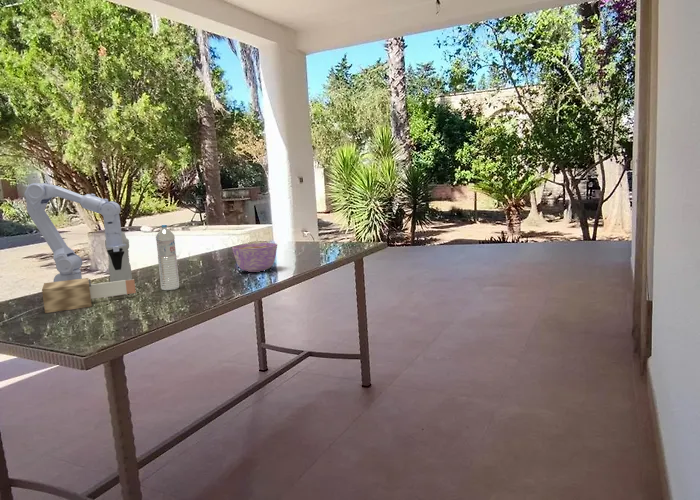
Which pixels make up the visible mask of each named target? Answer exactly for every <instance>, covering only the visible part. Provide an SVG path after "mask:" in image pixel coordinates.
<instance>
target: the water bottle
mask: <svg viewBox="0 0 700 500" xmlns="http://www.w3.org/2000/svg"><path fill="white" fill-rule="evenodd" d="M167 227H168V226H167V224H163V225H162V224H161V229H160V230H159V231H158V232H157V233H156V235H155V241H156V249H157V261H158V272H159V279H160V281H159V282H160V289H161V291H174V290H178V289H180V277H179V270H178V259H177V258H178V257H177V251H176V241H175V239H176V238H175V234H174V233H173V232H172V231H171V230H169V229H168V228H167Z"/></svg>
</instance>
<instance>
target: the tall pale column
mask: <svg viewBox="0 0 700 500" xmlns="http://www.w3.org/2000/svg"><path fill="white" fill-rule="evenodd" d="M121 233H122V242H123V244H126V246H123V247H120V248H122V249H123V250H122V251H124V254H123V258H122V267H121V270H115V269H114V267H113V264H112V260H111V257H110V255H109V254H108V252H107V250H111V249H112V248H106V239H105V240H104V247H105V249H106V253H107V257H108V273H109V274H108V275H109V282H114V281H122V280H130V279H133V275H132V273H133V272H132V267H131V263H130V256H129V255H130V254H129V252H130V250H129V248H130V241H129V240H130V239H128V238H127V236H126V233H125V232H123V231H121Z"/></svg>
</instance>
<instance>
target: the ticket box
mask: <svg viewBox="0 0 700 500" xmlns="http://www.w3.org/2000/svg"><path fill="white" fill-rule="evenodd" d="M91 284H92V282H91V279H89V277H86V278H85V277H84V278H82V279H75V280H67V281H58V282H53V281H51V282H44V283H43V285H42V288H41V292H42V293H41V294H42V300H43V307H44V314H48V313H55V312H62V311H63V312H64V311H69V310H77V309H83V308H91V307H93V305H92V299H91V296H90V288H89V287H91Z"/></svg>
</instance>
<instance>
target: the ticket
mask: <svg viewBox="0 0 700 500" xmlns="http://www.w3.org/2000/svg"><path fill="white" fill-rule="evenodd" d="M135 284H136V283H135V278H132V279H130V280H122V281H114V282H110V281H107V282H98V283H91V287H89V288H90V296H91V300H93V299H100V298H107V297H116V296H122V295H129V294H136V291H137V290H136V285H135Z"/></svg>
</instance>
